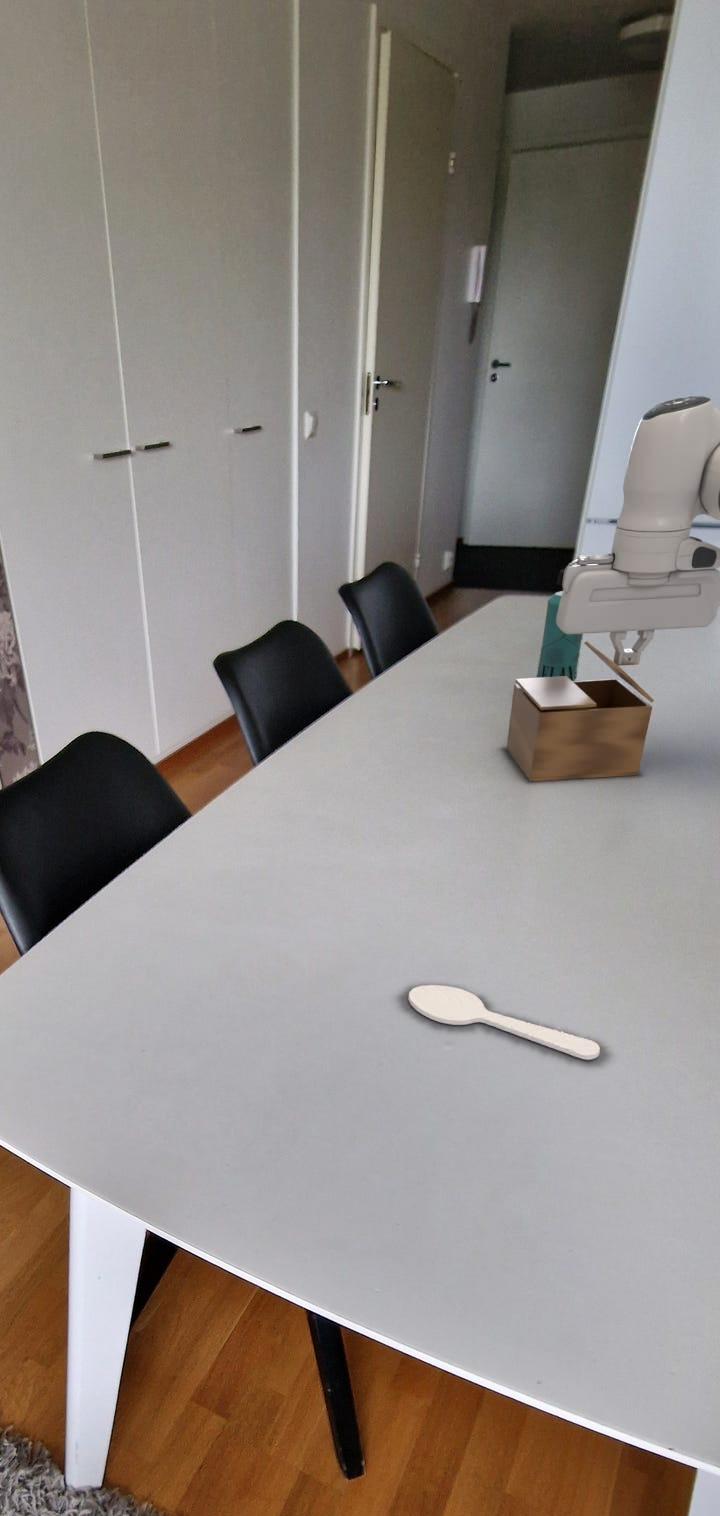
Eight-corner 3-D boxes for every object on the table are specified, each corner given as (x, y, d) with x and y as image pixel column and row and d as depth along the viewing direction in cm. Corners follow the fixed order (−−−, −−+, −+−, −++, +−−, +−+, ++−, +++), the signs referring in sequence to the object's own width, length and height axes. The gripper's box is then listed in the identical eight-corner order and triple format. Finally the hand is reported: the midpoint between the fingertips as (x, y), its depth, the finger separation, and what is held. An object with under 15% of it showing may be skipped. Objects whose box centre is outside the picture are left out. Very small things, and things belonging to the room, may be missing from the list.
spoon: (588, 1072, 78) (589, 1067, 77) (397, 1007, 87) (397, 1003, 86) (608, 1039, 81) (609, 1034, 81) (423, 980, 90) (423, 976, 90)
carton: (605, 743, 139) (619, 672, 133) (637, 775, 128) (653, 700, 122) (506, 748, 139) (514, 678, 133) (530, 781, 128) (540, 707, 122)
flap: (617, 675, 133) (619, 672, 133) (651, 702, 122) (654, 700, 122) (583, 643, 130) (586, 640, 130) (616, 668, 120) (618, 666, 119)
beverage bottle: (530, 703, 155) (548, 573, 143) (535, 691, 160) (553, 565, 148) (571, 706, 153) (592, 574, 141) (575, 694, 158) (596, 565, 146)
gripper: (574, 561, 115) (556, 674, 123) (738, 552, 115) (709, 666, 123) (559, 551, 120) (542, 661, 128) (716, 543, 120) (689, 654, 128)
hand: (625, 664), depth 126 cm, fingers closed
